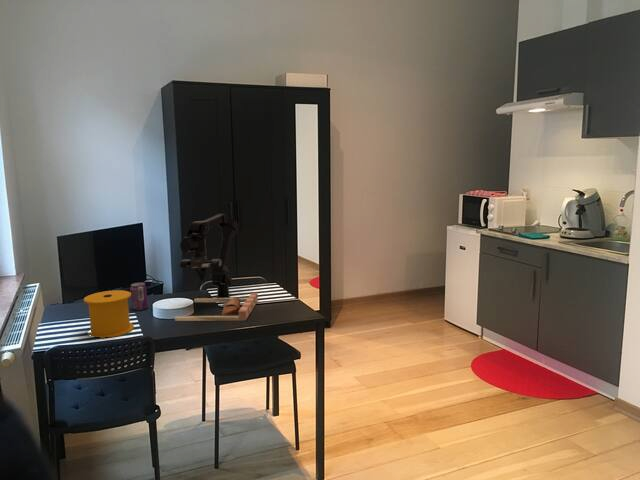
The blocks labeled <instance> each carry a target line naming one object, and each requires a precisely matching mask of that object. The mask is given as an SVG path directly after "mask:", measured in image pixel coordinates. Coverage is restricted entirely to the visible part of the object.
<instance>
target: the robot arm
mask: <svg viewBox="0 0 640 480" xmlns="http://www.w3.org/2000/svg"><path fill="white" fill-rule="evenodd" d="M239 225H240V224H239V223H238V221H237V220H235V219H233V218H231V217H229V215H227V214H225V213H217V214H216V215H214V216H212V217H208V218H207V219H204V220H198V221H197V220H196V221H192V222H190V225H189V227H188V230H187V232H186V235H185V236H184V237H182V239H183V240H181V242H180V245H179V246H180V247H179V248H180V250H181V252H183V253H189V252H192V257H191V259H190V258H188V259H186V258H185V259H182V260H180V261H179V268H187V267H188V266H191V269H192V270H195V272H196V274H197V275H198V278H199V280H200V281H201V282H203V281H204V278H205V275H206V272H207V270H208V269H209V268H210V267H212V268H211V273H210V279H211V282H212V285H213V286H216V288H217V295H216V296H215V298H231V297H230V296H232V293H230V288H229V287H230V286H232V285H233V281H234V280H233V278H232V277H231V276H230V270H229V267H228V264H229V260H230V253H231V248H232V244H233V239H234V238H235V237H236V236H237V233H238V230H239V228H240V226H239ZM216 226H218V227H220V233H221V236H222V239H221V244H220V250H219V255H218V258H212V259H211V260H208V257H207V251H208V250H207V245H206V241H207V240H206V239H207V238H208V237H209V236H208V235H207V233H208V232H209V231H210V229H211V228H213V227H216ZM208 239H209V238H208Z"/></svg>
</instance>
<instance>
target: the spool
mask: <svg viewBox="0 0 640 480" xmlns="http://www.w3.org/2000/svg"><path fill="white" fill-rule="evenodd" d="M129 298H130V299H131V292H130V291H127V290H121V289H120V290H116V289H115V290H105V291H100V292H99V291H98V292H95V293H92V294H88V295H87V296H85V297H84V298H83V303H85V304H87V305H88V314H89V323H90V329H91V332H92V333H90V334H89V335H91V336H94V337H100V338H99V339H106V338H105V337H109V338H115V336H116V337H119V336H123V335H126V334H129V333H131V332H132V331H133V330H134V329H135V325H134V324H133V323H132V322H131V321H130V311H129Z"/></svg>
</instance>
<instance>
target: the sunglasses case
mask: <svg viewBox="0 0 640 480" xmlns="http://www.w3.org/2000/svg"><path fill="white" fill-rule="evenodd" d="M232 298H233V299H231V300H230V301H229V302H224V303H223V304H222V305H223V307H222V312H221V316H238V311H239V310H240V308H241V302H240V299H239V298H240V297H238V296H235V297H232Z"/></svg>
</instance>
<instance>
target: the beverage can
mask: <svg viewBox="0 0 640 480" xmlns="http://www.w3.org/2000/svg"><path fill="white" fill-rule="evenodd" d="M129 290H130V291H129V292H130V293H131V297H130V300H131V301H130V302H131V309H132V310H134V311H143V310H145V309H147V308H148V307H149V306H148V305H149V304H148V295H147V294H148V293H147V291H148V290H147V286H146V283H145V282H133V283H132V284H130V289H129Z"/></svg>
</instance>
